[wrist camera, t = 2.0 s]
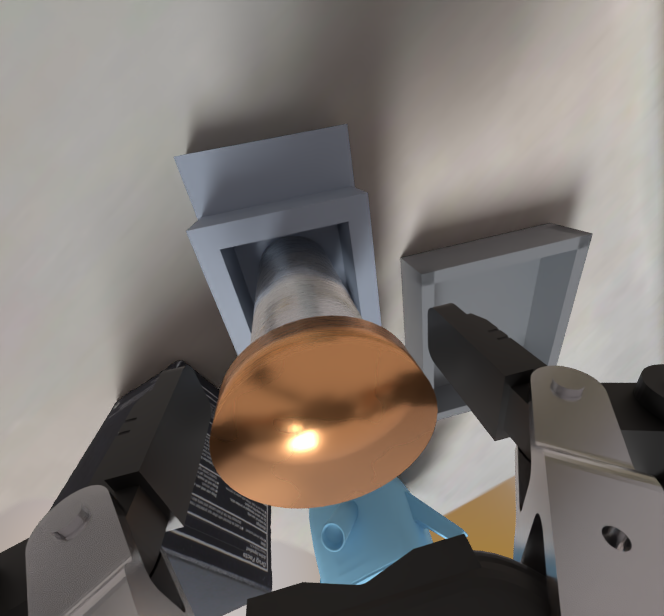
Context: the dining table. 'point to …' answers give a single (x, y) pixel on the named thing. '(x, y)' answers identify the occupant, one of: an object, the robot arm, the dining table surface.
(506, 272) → the tray
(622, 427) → the robot arm
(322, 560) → the teapot
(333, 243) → the block
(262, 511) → the small box
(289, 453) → the copper capped glass jar
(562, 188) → the dining table surface
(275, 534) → the dining table surface
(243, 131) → the dining table surface
